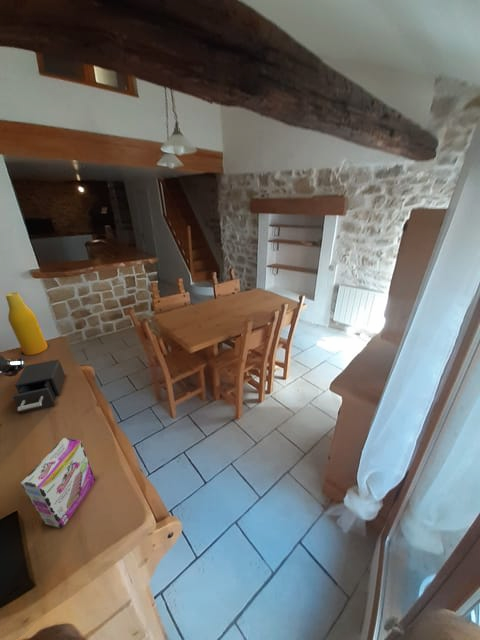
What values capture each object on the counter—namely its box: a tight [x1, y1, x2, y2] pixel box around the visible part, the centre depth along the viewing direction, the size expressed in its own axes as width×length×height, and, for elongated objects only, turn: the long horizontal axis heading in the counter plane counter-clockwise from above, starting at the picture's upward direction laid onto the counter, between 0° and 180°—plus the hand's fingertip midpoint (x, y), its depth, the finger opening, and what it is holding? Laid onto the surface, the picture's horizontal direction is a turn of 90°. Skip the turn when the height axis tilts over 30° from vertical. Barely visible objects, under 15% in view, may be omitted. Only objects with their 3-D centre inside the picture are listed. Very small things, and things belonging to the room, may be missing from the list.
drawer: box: [12, 380, 57, 415], centre depth 87 cm, size 15×9×8 cm, turn 23°
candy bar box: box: [20, 437, 96, 529], centre depth 58 cm, size 11×5×16 cm, turn 169°
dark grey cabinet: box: [14, 359, 66, 397], centre depth 93 cm, size 12×11×10 cm
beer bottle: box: [5, 291, 48, 356], centre depth 112 cm, size 9×9×29 cm
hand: (13, 372), depth 75 cm, fingers closed
